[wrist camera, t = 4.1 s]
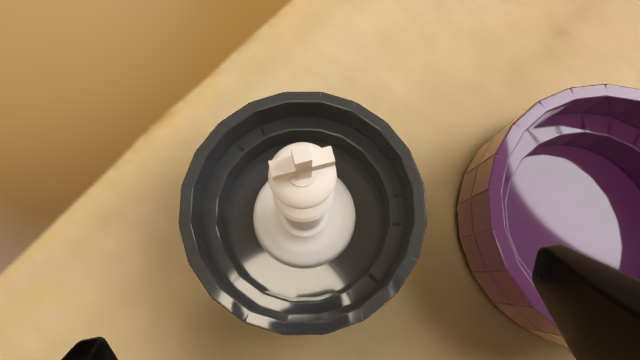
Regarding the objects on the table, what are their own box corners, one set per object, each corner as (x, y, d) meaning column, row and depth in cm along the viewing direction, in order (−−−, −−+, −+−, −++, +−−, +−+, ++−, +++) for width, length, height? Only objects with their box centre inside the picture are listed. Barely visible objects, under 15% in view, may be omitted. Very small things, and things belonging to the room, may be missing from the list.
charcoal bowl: (427, 154, 21) (449, 129, 17) (376, 354, 18) (391, 370, 15) (242, 98, 21) (230, 64, 18) (169, 287, 19) (139, 288, 15)
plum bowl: (686, 154, 21) (771, 126, 17) (667, 379, 19) (762, 405, 15) (479, 93, 22) (516, 53, 18) (430, 304, 19) (462, 310, 15)
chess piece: (243, 181, 20) (182, 86, 10) (339, 157, 20) (369, 44, 11) (266, 280, 19) (222, 281, 9) (367, 253, 19) (429, 225, 10)
